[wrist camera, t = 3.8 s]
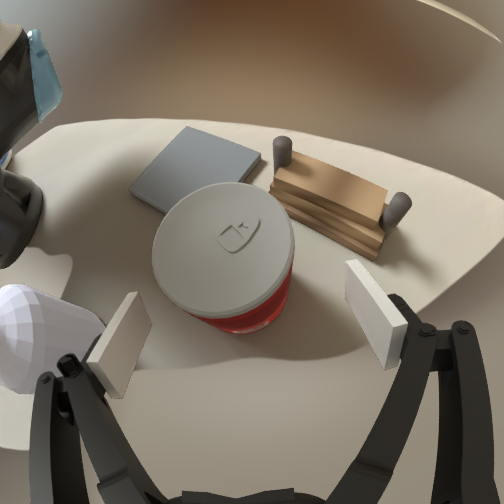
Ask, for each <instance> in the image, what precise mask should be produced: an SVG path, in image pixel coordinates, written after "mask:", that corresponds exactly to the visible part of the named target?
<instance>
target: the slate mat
mask: <svg viewBox="0 0 504 504" xmlns="http://www.w3.org/2000/svg"><path fill="white" fill-rule="evenodd" d="M260 160H261V153H259V152H257V151H254V150H252V149H249V148H247V147H244V146H242V145H239V144H236V143H234V142H231V141H228V140H226V139H223V138H220V137H217V136H214V135H212V134H209V133H206V132H203V131H200V130H197V129H194V128H191V127H188V126H186V127H185V128H184V129H183V130H182V131H181V132H180V133H179V134H178V135H177V136H176V137H175V138H174V139H173V140H172V141H171V142H170V143H169V144H168V145H167V146H166V148H165V149H164V150H163V151H162V152H161V153H160V154H159V155H158V156H157V157H156V158H155V159H154V160H153V162H152V163H151V164H150V165H149V166H148V167H147V168H146V169H145V171H144V172H143V173H142V174H141V175H140V176H139V177H138V179H137V180H136V181H135V182H134V183H133V184H132V186H131V187H130V188H129V189H128V190H129V191H130V192H131V194H132V195H134V196H136V197H137V198H139V199H141V200H143V201H144V202H146V203H148V204H149V205H151V206H153V207H154V208H156V209H158V210H159V211H161V212H163V213H165V214H166V215H167V213H168V212H169V211H170V209H171V208H172V207H173V206H175V205H176V204H177V203H178V202H179V201H180V200H181V199H183V198H184V197H186V196H187V195H189V194H190V193H192V192H194V191H196V190H198V189H200V188H202V187H205V186H209V185H212V184H216V183H224V182H240V183H242V182H243V181H244V180H245V179H246V177H247V176H248V175H249V174H250V172H251V171H252V170H253V168H254V167H255V166H256V165H257V163H258V162H259V161H260Z"/></svg>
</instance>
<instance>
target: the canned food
mask: <svg viewBox="0 0 504 504" xmlns="http://www.w3.org/2000/svg"><path fill="white" fill-rule="evenodd" d="M294 248H295V245H294V233H293V228H292V224H291V221H290V218H289V216H288V214H287V212H286V211H285V209H284V207H283V206H282V205H281V204H280V203H279V201H278V200H277V199H276V198H275V197H273V196H272V195H271V194H269V193H268V192H266V191H265V190H263V189H261V188H258V187H256V186H254V185H250V184H245V183H240V182H224V183H216V184H212V185H209V186H205V187H202V188H200V189H198V190H196V191H194V192H192V193H190V194H189V195H187V196H186V197H184V198H183V199H181V200H180V201H179V202H178V203H177V204H176V205H175V206H173V207H172V208H171V209H170V211H169V212H168V213H167V215H166V216H165V217H164V218H163V220H162V222H161V224H160V226H159V227H158V229H157V232H156V235H155V238H154V241H153V246H152V253H151V258H152V269H153V272H154V275H155V279H156V281H157V283H158V285H159V286H160V288H161V290H162V291H163V293H164V294H165V295H166V296H167V297H168V298H169V299H170V300H171V301H172V302H173V303H174V304H175V305H176V306H178V307H179V308H181V309H182V310H184V311H185V312H187V313H189V314H190V315H192V316H194V317H196V318H198V319H200V320H202V321H204V322H206V323H208V324H210V325H212V326H214V327H217V328H219V329H221V330H224V331H226V332H229V333H235V334H245V333H251V332H255V331H258V330H260V329H262V328H264V327H266V326H267V325H268V324H270V323H271V322H272V321H273V320H274V319H275V318H276V317H277V316H278V315H279V313H280V312H281V310H282V309H283V307H284V304H285V302H286V299H287V294H288V289H289V283H290V277H291V271H292V265H293V258H294Z"/></svg>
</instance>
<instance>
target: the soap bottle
mask: <svg viewBox="0 0 504 504" xmlns="http://www.w3.org/2000/svg"><path fill="white" fill-rule="evenodd" d="M105 329H106V328H105V326H104V324H103V323H102V322H101V321H100V319H99V318H98V317H97V316H96V314H94V313H92V312H91V311H89V310H87V309H85V308H82V307H80V306H77V305H74V304H71V303H69V302H66V301H63V300H61V299H58V298H56V297H53V296H51V295H48V294H46V293H43V292H41V291H39V290H36V289H33V288H32V287H29V286H27V285H24V284H10V285H5V286H4V287H2V288H1V289H0V384H1V385H3V386H4V387H6V388H8V389H10V390H12V391H14V392H16V393H18V394H35V389H36V383H37V380H38V378H39V376H40V375H41V374H42V373H44V372H47V371H51V372H53V373H54V375H55V376H56V377H61V376H63V375H62V374H61V372H60V371H59V369H58V368H57V366H56V365H57V362H58V360H59V359H60V358H61V357H62V356H64V355H65V354H68V353H73V354H75V355H76V357H77V358H78V360H79V361H80V362H81V361H82V359H83V357H84V356H85V354H86V352H87V351H88V349H89V347H90V346H91V344H92V342H93V341H94V339H95V338H96V337H97V336H98V335H99V334H102V333H103V332H104V330H105Z"/></svg>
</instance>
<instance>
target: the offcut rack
mask: <svg viewBox="0 0 504 504" xmlns="http://www.w3.org/2000/svg"><path fill="white" fill-rule="evenodd" d="M273 157H274V181H273V182H272V183H271V185H270V191H269V192H268V193H269V194H271V195H272V196H273V197H275V198H276V199H277V200H278V201H279V203H280V204H281V205H282V206H283V207H284V209H285V211H286V212H287V214H288V216H289V217H291V218H293V219H295V220H297V221H299V222H301V223H303V224H305V225H306V226H308V227H310V228H312V229H314V230H316V231H318V232H320V233H322V234H324V235H325V236H327V237H329V238H331V239H333V240H335V241H337V242H338V243H340V244H342V245H344V246H346V247H348V248H349V249H351V250H353V251H355V252H357V253H358V254H360V255H362V256H364V257H365V258H367V259H369V260H371V261H374V260H375V259H376V258H377V256H378V253H379V251H380V249H381V246H382V244H383V241H384V240H385V239H386V238H387V237H388V236H389V235H390V233H391V232H392V231H393V230H394V228H395V227H396V226H397V225H398V223H399V222H400V221H401V219H402V218H403V217H404V216H405V214H406V213H407V212H408V210H409V209H410V208H411V206H412V201H411V199H410V197H409V196H408V195H407V194H405V193H403V192H397V193H396V194H395V195H394V197H393V198H392V200H391V202H390V203H389V205H387V204H385V203H384V201H385V198H386V195H387V191H388V190H386V189H384V188H382V187H380V186H378V185H376V184H373V183H371V182H369V181H367V180H365V179H362V178H360V177H358V176H356V175H353V174H351V173H349V172H346V171H344V170H342V169H339V168H337V167H334V166H332V165H329V164H327V163H324V162H322V161H319V160H317V159H314V158H311V157H309V156H306V155H303V154H301V153H298V152H295V151H292V141H291V139H290V138H288V137H286V136H279V137H276V138H275V139H274V140H273Z"/></svg>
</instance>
